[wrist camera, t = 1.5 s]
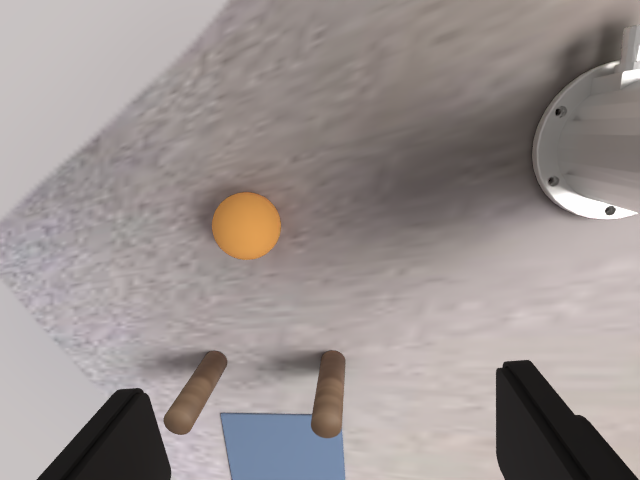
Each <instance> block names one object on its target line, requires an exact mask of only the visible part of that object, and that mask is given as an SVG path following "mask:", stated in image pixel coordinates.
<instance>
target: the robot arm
mask: <svg viewBox="0 0 640 480" xmlns="http://www.w3.org/2000/svg"><path fill="white" fill-rule="evenodd" d="M621 48H622V52H621V59H620V60H617V61H613V62H610V63H606V64H603V65H600V66H597V67H595V68H593V69H591V70H589V71H587V72H585V73H583V74H581V75H580V76H579V77H577V78H576V79H575V80H573V81H572V82H570V83H569V84H568V85H566V86H565V87H564V88H563V90H562V91H561V92H560V93H559V94H558V95H557V96H556V97H555V98H554V99H553V100H552V102H551V103H550V105H549V106H548V107H547V109H546V110H545V112H544V114H543V116H542V118H541V120H540V122H539V124H538V126H537V130H536V133H535V137H534V140H533V150H532V160H533V169H534V172H535V175H536V178H537V181H538V183H539V185H540V186H541V188H542V190H543V191H544V193H545V194H546V195H547V196H548V197H549V198H550V199H551V200H552V201H553V202H554V203H555V204H557V205H558V206H560V207H561V208H563V209H564V210H566V211H569V212H571V213H573V214H576V215H579V216H583V217H586V218H590V219H601V220H608V219H620V218H624V217H628V216H632V215H636V214H638V213H639V214H640V25H635V26H630V27H627V28H625V29H624V30H623V37H622V44H621ZM556 109H557V110H558V114H557V115H555V111H556ZM549 178H551V181H550V182H549V183H548V180H549ZM605 209H606V210H605ZM496 454H497V460H498V464H499V467H500V470H501V472H502V474H503V476H504V478H505V480H639V479H638V478H637V477H636V476H635V475H634V474H633V472H632V471H631V470H630V469H629V468H628V466H627V465H626V464H625V463H624V462H623V461H622V459H621V458H620V457H619V456H618V455H617V454H616V452H615V451H614V450H613V449H612V448H611V446H610V445H609V444H608V443H607V442H606V441H605V439H604V438H603V437H602V436H601V435H600V434H599V432H598V431H597V430H596V429H595V428H594V427H593V425H592V424H591V423H590V422H589V421H588V420H587V419H586V418H585V417H583V416H581V415H574V413H573V412H572V411H571V410H570V408H569V407H568V406H567V405H566V404H565V402H564V401H563V400H562V399H561V397H560V396H559V395H558V394H557V393H556V391H555V390H554V389H553V388H552V387H551V385H550V384H549V383H548V382H547V380H546V379H545V378H544V377H543V376H542V374H541V373H540V372H539V371H538V369H537V368H536V367H535V366H534V365H533V363H532V362H531V361H529V360H521V361H507V362H504V364H503V368H498V369H497V370H496ZM170 478H171V467H170V464H169V461H168V457H167V454H166V451H165V448H164V444H163V441H162V438H161V434H160V431H159V428H158V425H157V421H156V418H155V415H154V411H153V408H152V405H151V401H150V398H149V396H148V395H147V394H146V393H144V392H143V390H142V389H140V388H133V389H120V390H117V391H116V392H115V393H114V394H113V395H112V396H111V397H110V398H109V399H108V400H107V401H106V403H105V404H104V405H103V406H102V407H101V409H99V410H98V412H97V413H96V414H95V415H94V416H93V417H92V418H91V420H90V421H89V422H88V423H87V424H86V425H85V426H84V427H83V428H82V429H81V431H80V432H79V433H78V434H77V435H76V436H75V437H74V438H73V440H72V441H71V442H70V443H69V444H68V445H67V446H66V447H65V449H64V450H63V451H62V452H61V453H60V454H59V455H58V456H57V457H56V459H55V460H54V461H53V462H52V463H51V464H50V465H49V466H48V468H47V469H46V470H45V471H44V472H43V473H42V474H41V475H40V476H39V478H38V479H37V480H170Z"/></svg>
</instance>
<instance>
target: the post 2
mask: <svg viewBox="0 0 640 480" xmlns="http://www.w3.org/2000/svg"><path fill="white" fill-rule="evenodd" d="M344 378H345V358H344V356H343V355H342V354H341V353H340V352H338V351H328V352H326V353H324V354H323V356H322V358H321V364H320V370H319V376H318V382H317V388H316V395H315V401H314V407H313V413H312V419H311V429H312V431H313V432H314V433H315V434H316V435H318V436H319V437H322V438H333V437H335V436H337V435H338V434H339V433H340V432H341V429H342V413H343V396H344Z"/></svg>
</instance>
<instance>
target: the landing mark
mask: <svg viewBox="0 0 640 480" xmlns="http://www.w3.org/2000/svg"><path fill="white" fill-rule="evenodd" d="M221 419H222V425H223V431H224V436H225V442H226V447H227V453H228V459H229V464H230V470H231V476H232V480H345V468H344V453H343V438H342V429H341V432H340V433H339V434H338V435H337V436H335V437H333V438H322V437H319V436H318V435H316V434H315V433H314V432H313V431H312V429H311V419H312V415H310V414H252V413H221Z"/></svg>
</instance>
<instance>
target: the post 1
mask: <svg viewBox="0 0 640 480" xmlns="http://www.w3.org/2000/svg"><path fill="white" fill-rule="evenodd" d="M226 366H227V359H226V357H225V356H224V355H223V354H222V353H220V352H218V351H211V352H209V353H207V354H206V356H205V357H204V359H203V360H202V362H201V363H200V364H199V366H198V367H197V369H196V370H195V372H194V373H193V375H192V376H191V378H190V379H189V381H188V382H187V384H186V385H185V387H184V388H183V389H182V391H181V392H180V394H179V395H178V397H177V398H176V400H175V401H174V403H173V404H172V406H171V407H170V409H169V410H168V412H167V413H166V414H165V416H164V424H165V426H166V428H167V429H168V430H169V431H171V432H172V433H175V434H178V435H183V434H187V433H188V432H190V430H191V429H192V427H193V425H194V423H195V421H196V420H197V418H198V416H199V414H200V413H201V411H202V409H203V407H204V405H205V404H206V402H207V400H208V398H209V397H210V395H211V393H212V391H213V389H214V388H215V386H216V384H217V382H218V380H219V379H220V377H221V375H222V373H223V372H224V370H225V368H226Z"/></svg>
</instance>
